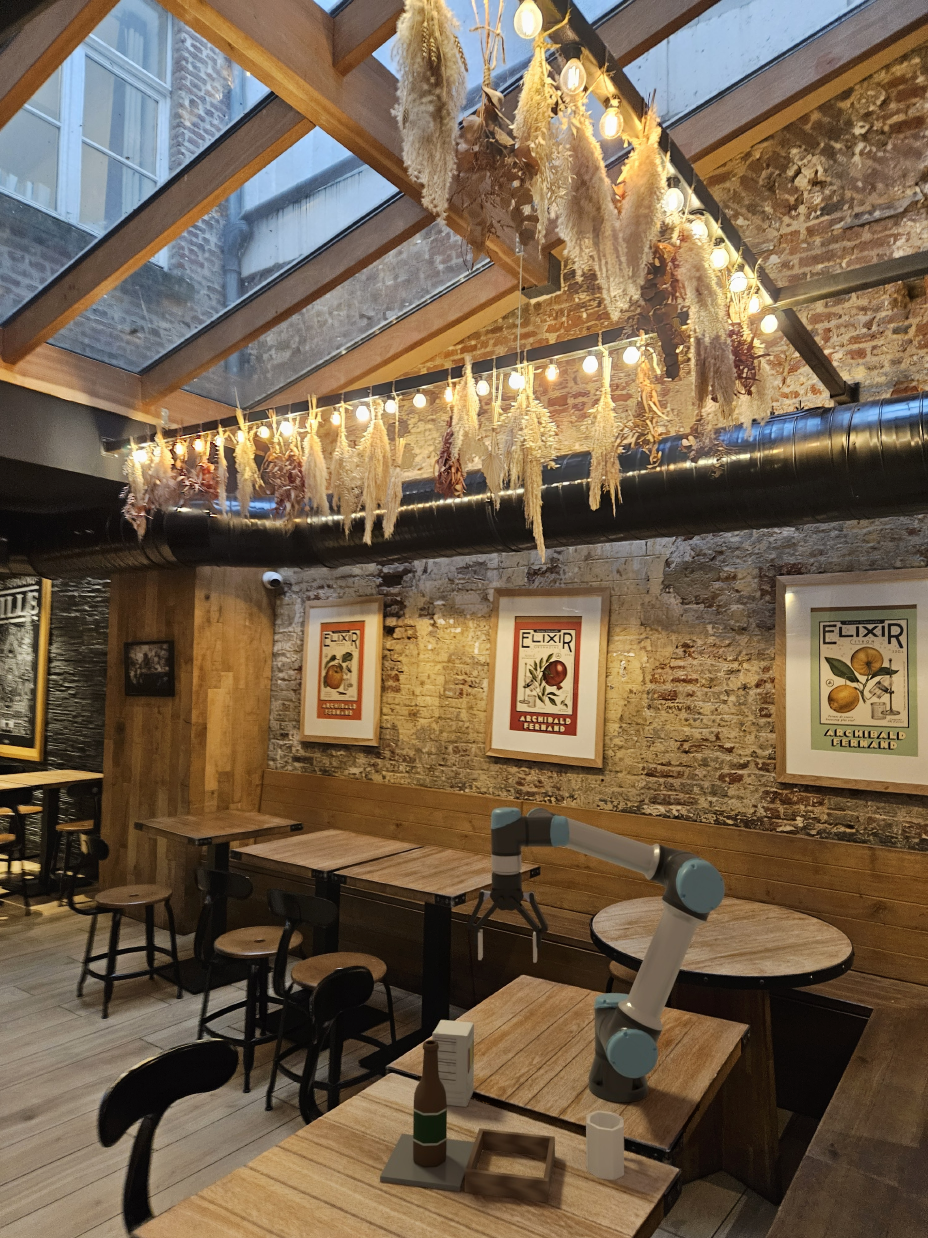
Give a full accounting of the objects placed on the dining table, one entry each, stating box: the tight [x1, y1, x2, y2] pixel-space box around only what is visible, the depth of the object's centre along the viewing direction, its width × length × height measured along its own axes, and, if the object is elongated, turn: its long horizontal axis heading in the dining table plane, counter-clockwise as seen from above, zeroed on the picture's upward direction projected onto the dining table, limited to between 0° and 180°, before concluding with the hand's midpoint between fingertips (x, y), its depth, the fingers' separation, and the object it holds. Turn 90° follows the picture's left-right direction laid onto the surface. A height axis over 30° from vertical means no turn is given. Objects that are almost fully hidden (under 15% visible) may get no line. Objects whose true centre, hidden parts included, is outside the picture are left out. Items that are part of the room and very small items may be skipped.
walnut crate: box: [464, 1127, 556, 1203], centre depth 171 cm, size 17×17×4 cm
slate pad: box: [379, 1133, 475, 1192], centre depth 174 cm, size 17×17×1 cm
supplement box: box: [431, 1019, 475, 1108], centre depth 204 cm, size 10×9×17 cm
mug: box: [585, 1109, 625, 1181], centre depth 175 cm, size 12×9×10 cm
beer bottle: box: [412, 1039, 448, 1167], centre depth 175 cm, size 8×8×24 cm
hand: (507, 959), depth 199 cm, fingers open, 13 cm apart
